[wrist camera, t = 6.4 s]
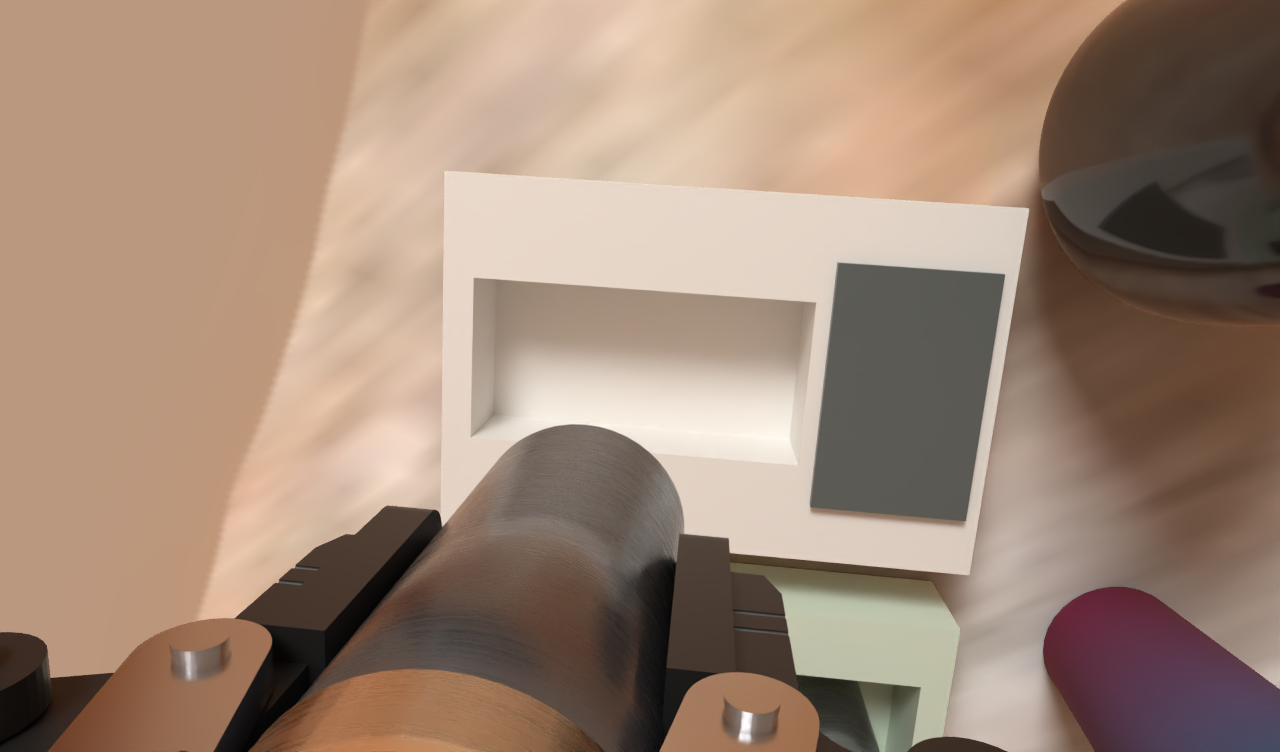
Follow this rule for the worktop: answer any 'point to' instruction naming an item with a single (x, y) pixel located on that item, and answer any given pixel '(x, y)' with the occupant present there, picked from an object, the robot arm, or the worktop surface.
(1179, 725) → the cup
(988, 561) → the worktop surface
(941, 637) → the trough rack
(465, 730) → the cell
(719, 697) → the robot arm
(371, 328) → the worktop surface
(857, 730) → the cell
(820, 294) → the battery tester
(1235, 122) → the black tapered dome
